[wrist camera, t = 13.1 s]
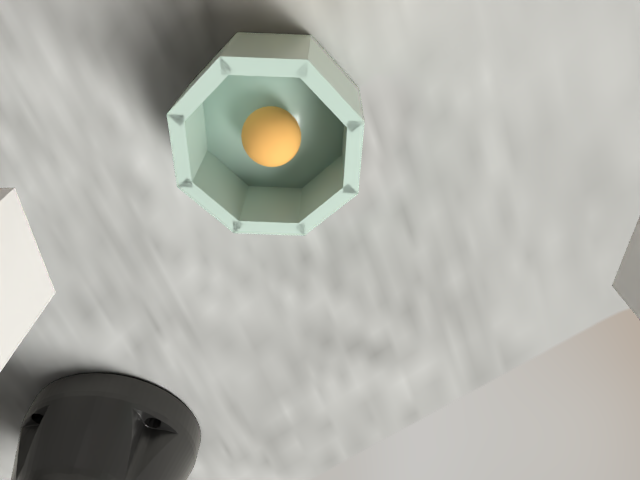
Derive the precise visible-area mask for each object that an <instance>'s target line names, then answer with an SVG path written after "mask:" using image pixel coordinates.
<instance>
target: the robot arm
mask: <svg viewBox="0 0 640 480" xmlns="http://www.w3.org/2000/svg"><path fill="white" fill-rule="evenodd" d="M612 286H613V287H614V289H615V290H616V291H617V292H618V294H619V295H620V296H621V297H622V299H623V300H624V301H625V302H626V304H627V305H628V306H629V307H630V309H631V310H632V311H633V312H634V313H635V315H636V316H637V317H638V318H639V320H640V217H639V219H638V222H637V224H636V227H635V229H634V232H633V234H632V237H631V239H630V242H629V244H628V247H627V249H626V252H625V254H624V257H623V259H622V262H621V264H620V267H619V269H618V272H617V274H616V277H615V279H614V282H613V284H612ZM55 293H56V292H55V290H54V287H53V284H52V282H51V279H50V277H49V274H48V272H47V269H46V266H45V264H44V261H43V259H42V256H41V254H40V251H39V248H38V246H37V243H36V241H35V238H34V236H33V233H32V231H31V228H30V225H29V223H28V220H27V218H26V215H25V213H24V210H23V207H22V205H21V202H20V200H19V197H18V195H17V192H16V189H15V188H0V372H1V370H2V369H3V368H4V366H5V365H6V363H7V362H8V360H9V359H10V358H11V356H12V355H13V353H14V352H15V350H16V349H17V347H18V346H19V345H20V343H21V342H22V340H23V339H24V337H25V336H26V335H27V333H28V332H29V330H30V329H31V327H32V326H33V324H34V323H35V322H36V320H37V319H38V317H39V316H40V314H41V313H42V311H43V310H44V309H45V307H46V306H47V304H48V303H49V301H50V300H51V299H52V297H53V296H54V294H55ZM200 441H201V431H200V427H199V424H198V422H197V420H196V418H195V417H194V415H193V414H192V412H191V411H190V410H189V409H188V408H187V407H186V406H185V405H184V404H183V403H182V402H181V401H180V400H178V399H177V398H176V397H174V396H173V395H171V394H170V393H168V392H166V391H164V390H163V389H161V388H159V387H156V386H154V385H152V384H149V383H147V382H144V381H141V380H138V379H135V378H131V377H126V376H121V375H115V374H105V373H86V374H78V375H72V376H68V377H65V378H62V379H59V380H57V381H54V382H52V383H51V384H49V385H48V386H46V387H45V388H44V389H43V390H42V391H41V392H40V393H39V394H38V395H37V397H36V399H35V400H34V402H33V404H32V405H31V407H30V409H29V410H28V412H27V414H26V416H25V418H24V420H23V423H22V426H21V431H20V436H19V441H18V446H17V451H16V456H15V461H14V467H13V472H12V477H11V480H187V478H188V476H189V475H190V473H191V471H192V469H193V467H194V465H195V462H196V458H197V454H198V450H199V446H200Z"/></svg>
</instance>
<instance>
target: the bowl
mask: <svg viewBox="0 0 640 480" xmlns="http://www.w3.org/2000/svg"><path fill="white" fill-rule="evenodd" d="M266 106H276V107H280V108H282V109H284V110H286V111H288V112H289V113H290V114H291V115H293V117H294V118H295V119H296V121H297V122H298V124H299V127H300V131H301V144H300V147H299V150H298V152H297V153H296V155H295V156H294V157H293V158H292V159H291V160H290V161H289V162H287V163H286V164H284V165H281V166H277V167H267V166H263V165H260V164H258V163H256V162H255V161H253V160H252V159H251V158H250V157H249V156H248V154H247V153H246V151H245V150H244V147H243V144H242V138H241V133H242V128H243V125H244V122H245V121H246V119H247V118H248V116H249V115H250V114H251V113H253V112H254V111H255V110H257V109H259V108H262V107H266ZM167 121H168V128H169V135H170V141H171V148H172V155H173V162H174V168H175V175H176V182H177V187H178V188H179V189H180V190H181V191H183V192H184V193H185V194H186V195H188V196H189V197H190V198H191V199H193V200H194V201H195V202H196V203H197V204H199V205H200V206H201V207H202V208H204V209H205V210H206V211H207V212H208V213H210V214H211V215H212V216H213V217H215V218H216V219H217V220H218V221H220V222H221V223H222V224H223V225H224V226H226V227H227V228H228V229H229V230H231V231H232V232H233V233H244V234H271V235H299V236H305V235H306V234H307V233H309V232H310V231H311V230H312V229H314V228H315V227H316V226H318V225H319V224H320V223H321V222H323V221H324V220H325V219H326V218H328V217H329V216H330V215H332V214H333V213H334V212H335V211H337V210H338V209H339V208H341V207H342V206H343V205H344V204H346V203H347V202H348V201H349V200H351V199H352V198H353V197H355V196H356V195H357V194H358V190H359V179H360V167H361V156H362V144H363V133H364V122H365V121H364V115H363V109H362V103H361V97H360V90H359V88H358V87H357V86H356V85H355V84H354V83H353V81H352V80H351V79H350V78H349V77H348V76H347V75H346V74H345V72H344V71H343V70H342V69H341V68H340V67H339V66H338V65H337V63H336V62H335V61H334V60H333V59H332V58H331V57H330V56H329V54H328V53H327V52H326V51H325V50H324V49H323V48H322V47H321V45H320V44H319V43H318V42H317V41H316V40H315V39H314V38H313V36H312V35H299V34H273V33H247V32H237V33H236V34H235V35H234V36H233V37H232V38H231V40H230V41H229V42H228V43H227V44H226V45H225V46H224V47H223V48H222V49H221V50H220V52H219V53H218V54H217V55H216V56H215V57H214V58H213V59H212V60H211V61H210V62H209V64H208V65H207V66H206V67H205V68H204V69H203V70H202V71H201V72H200V73H199V75H198V76H197V77H196V78H195V79H194V80H193V81H192V82H191V83H190V85H189V86H188V87H187V88H186V90H185V91H184V92H183V94H182V95H181V96H180V97H179V99H178V100H177V101H176V103H175V104H174V105H173V106H172V108H171V109H170V110H169V112H168V113H167Z"/></svg>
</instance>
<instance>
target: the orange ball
mask: <svg viewBox="0 0 640 480" xmlns="http://www.w3.org/2000/svg"><path fill="white" fill-rule="evenodd" d="M241 138H242V144H243V147H244V150H245V151H246V153H247V154H248V156H249V157H250V158H251V159H252V160H253V161H255V162H256V163H258V164H260V165H263V166H267V167H277V166H281V165H284V164H286V163H287V162H289V161H290V160H291V159H292V158H293V157H294V156H295V155H296V153H297V152H298V150H299V147H300V144H301V131H300V127H299V124H298V122H297V121H296V119H295V118H294V117H293V115H291V114H290V113H289V112H288V111H286V110H284V109H282V108H280V107H276V106H266V107H262V108H259V109H257V110H255V111H254V112H253V113H251V114H250V115H249V116H248V118H247V119H246V121H245V122H244V125H243V128H242V133H241Z"/></svg>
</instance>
